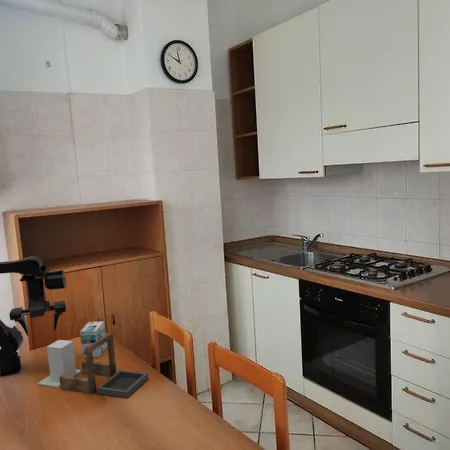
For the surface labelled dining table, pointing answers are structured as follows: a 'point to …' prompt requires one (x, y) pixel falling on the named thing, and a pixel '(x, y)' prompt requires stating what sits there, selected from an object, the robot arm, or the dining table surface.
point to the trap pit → (123, 384)
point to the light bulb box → (93, 337)
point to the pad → (52, 383)
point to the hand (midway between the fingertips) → (41, 333)
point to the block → (61, 359)
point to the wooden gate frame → (92, 368)
